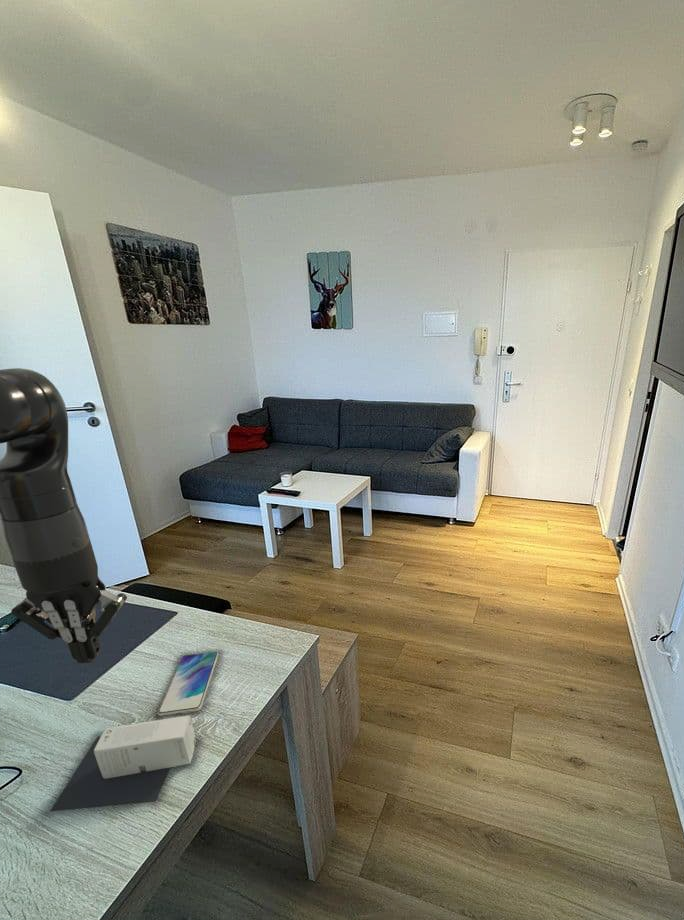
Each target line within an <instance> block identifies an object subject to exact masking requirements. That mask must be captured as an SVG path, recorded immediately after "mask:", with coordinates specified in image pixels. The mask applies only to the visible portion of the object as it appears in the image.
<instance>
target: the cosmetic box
mask: <svg viewBox="0 0 684 920" xmlns="http://www.w3.org/2000/svg"><path fill="white" fill-rule="evenodd" d="M100 736H101V737H100ZM100 736H99V737H100V739H99V741H98V743H97V745H96V747H95V749H94V754H95V757H96V760H97V763H98V766H99V768H100V771H101V774H102V776H103V778H104V779H108V778H114V777H119V776H125V775H130V774H136V773H142V772H147V771H153V770H159V769H164V768H170V769H171V768H174V767H180V766H186V765H190V764H191V763H192V760H193V755H194V752H195V748H196V745H197V740H196V736H195V729H194V725H193V721H192V718H191V715H184V716H177V717H171V718H164V719H157V720H150V721H145V722H137V723H131V724H124V725H117V726H111V727H107V728H105V729H104V730H103V732H102V734H101V735H100Z"/></svg>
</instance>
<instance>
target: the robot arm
mask: <svg viewBox="0 0 684 920" xmlns="http://www.w3.org/2000/svg"><path fill="white" fill-rule="evenodd" d="M1 444H6V450H5V454H4V456H3V457H2V458H1V459H0V523H1V528H2V529H1V530H2V535H3V538H4V541H5V545H6V547H7V550H8V552H9V555H10V558H11V560H12V563H13V565H14V568H15V571H16V574H17V577H18V579H19V582H20V584H21V587H22V588H23V590H25V591H26V592H25V598H24V599H23V600H21V601H20V602H18V603H17V604H16V605H15V606H14V607H13V608H11V610H10V611H11V614H12V615H13V616H14V617H15V618H18V619H19V620H20V621H22V622H23V623H25V624H26V625H28V626H29V627H31V628H32V629H33V630H35V631H36V632H38V633H40V634H41V635H42V636H43V637H46V639H48V640H56V639H57V638H58V639H62V641H63V642H64V643H67V645H68V649H69V651H70V654H71V658H72V659H74V660H75V661H76V662H77V664H78V665H79V664H91V663H93V662H94V660H95V659H96V658H97V656H98V655H99V654H100V652H101V650H102V649H101V644H100V642H99V641H100V640H99V638H98V637H100V636H101V635H102V633H104V631H105V630H106V629H107V628H108V627H109V625H110V624H111V623H112V621H113V620H114V619H115V617H116V615H117V614H118V612H119V611H120V609H121V608H122V607H123V605H124V604H125V602H126V601H127V600H128V596H127V595H126V593H120V592H119V593H118V594H117V595H115V594H114V593H111V592H109V591H108V590H106V588H107V587H106V585H105V583H104V582H103V581H102V580H101V579H100V577H99V569H98V568H99V566H98V563H97V559H96V555H95V552H94V548H93V545H92V541H91V538H90V535H89V531H88V527H87V524H86V521H85V518H84V515H83V514H82V512H81V509H80V507H79V504H78V502H77V498H76V494H75V492H74V491H75V490H74V488H73V483H72V481H71V478H70V475H69V472H68V471H69V470H68V463H69V461H68V460H69V418H68V411H67V407H66V403H65V400H64V399H63V396H62V394H61V393H60V391H59V390H58V388H57V386H56V385H55V384H54V383H53V382H52V381H51V380H50V379H49V378H48V377H46V376H45V375H44V374H42V373H40V372H38V371H35V370H33V369H29V368H21V367H16V368H15V367H14V368H3V369H0V445H1ZM99 603H100V612H101V614H100V616H99V618H98V619H97V621H96V614H97V608H96V607H97V606H98V604H99ZM45 621H46V622H47V623H46V622H45ZM48 623H49V624H50V625H52V626H50V625H49V624H48Z"/></svg>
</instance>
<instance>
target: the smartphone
mask: <svg viewBox="0 0 684 920" xmlns="http://www.w3.org/2000/svg"><path fill="white" fill-rule="evenodd" d="M218 658H219V653H218V652H217V651H209V652H199V653H193V654H185V655H182V657H181V658H180V660H179V662H178V665H177V667H176V669H175V672H174V674H173V676H172V678H171V680H170V683H169V685H168V686H167V689H166V692H165V694H164V697H163V699H162V701H161V703H160V705H159V708H158V710H157V715H158V717H163V716H165V717H166V716H172V715H173V716H174V715H177V714H181V715H182V714H187V713H196V712H198V711H200V710H201V709H202V707H203V704H204V701H205V698H206V695H207V692H208V689H209V686H210V682H211V679H212V676H213V673H214V670H215V667H216V665H217V661H218Z"/></svg>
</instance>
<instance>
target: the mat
mask: <svg viewBox="0 0 684 920" xmlns="http://www.w3.org/2000/svg"><path fill="white" fill-rule="evenodd" d="M101 736H102V735H100V736H96V738H95V740H94V741H93V743H91V744H92V745H91V746H90V748H88V750H87V753H86V754H85V755H84V757H83V758H82V760H81V761H80V763H79V765H78V766H77V768H76V769H75V771H74V773H73V774H72V776H71V778H70V779H69V780H68V782H67V784H66V785H65V787H63V790H62V791H61V793H60V795H59V796H58V797H57V799H56V801H55V802H54V804H53V805H52V807H51V809H49V810H50V811H49V812H59V811H61V812H62V811H70V810H78V809H79V810H81V809H90V808H91V809H92V808H101V807H102V808H103V807H111V806H112V807H114V806H123V805H124V806H125V805H133V804H134V805H135V804H144V803H155V802H157V801H158V798H159V795H160V793H161V791H162V788H163V786H164V784H165V781H166V779H167V776H168V774H169V772H170V771H171V770H170V769H171V767H170V768H164V769H159V770H153V771H147V772H142V773H136V774H130V775H125V776H119V777H114V778H108V779H104V778H103V776H102V774H101V771H100V768H99V766H98V763H97V760H96V757H95V754H94V749H95V747H96V745H97V743H98V741H99V739H100V737H101Z"/></svg>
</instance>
